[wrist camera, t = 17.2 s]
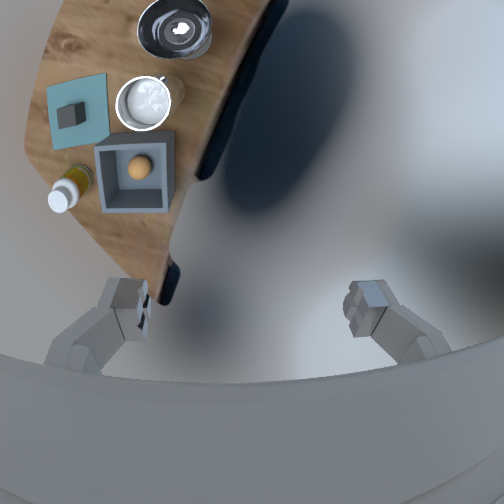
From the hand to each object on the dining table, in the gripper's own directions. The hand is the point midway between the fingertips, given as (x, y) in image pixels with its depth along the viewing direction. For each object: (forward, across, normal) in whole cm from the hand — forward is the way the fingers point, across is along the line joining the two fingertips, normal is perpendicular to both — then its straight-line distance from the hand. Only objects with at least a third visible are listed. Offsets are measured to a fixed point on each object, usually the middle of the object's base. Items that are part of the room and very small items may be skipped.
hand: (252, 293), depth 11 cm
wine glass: (+39, +7, -13) cm, 42 cm away
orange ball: (+36, +14, +8) cm, 40 cm away
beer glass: (+39, +10, -4) cm, 41 cm away
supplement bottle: (+39, +27, +10) cm, 49 cm away
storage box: (+39, +14, +8) cm, 42 cm away
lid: (+40, +26, -2) cm, 48 cm away
